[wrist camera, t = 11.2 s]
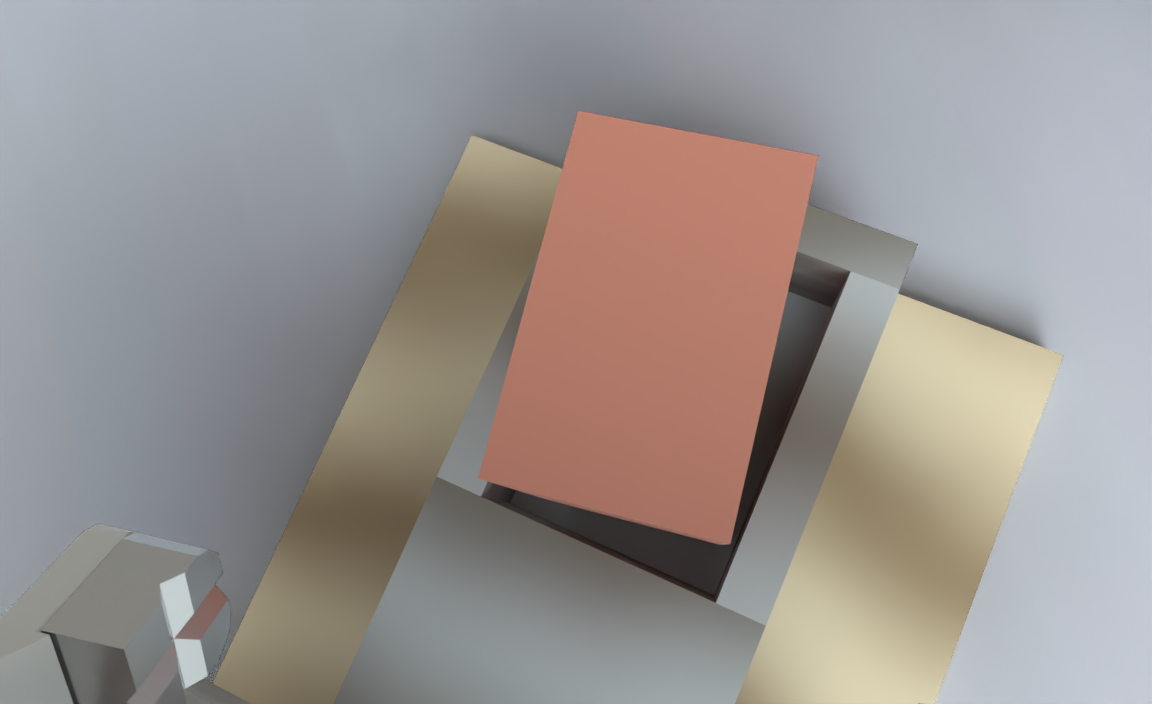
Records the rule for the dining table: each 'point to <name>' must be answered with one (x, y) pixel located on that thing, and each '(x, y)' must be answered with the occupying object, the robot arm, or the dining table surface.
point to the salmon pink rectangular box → (651, 326)
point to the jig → (631, 551)
